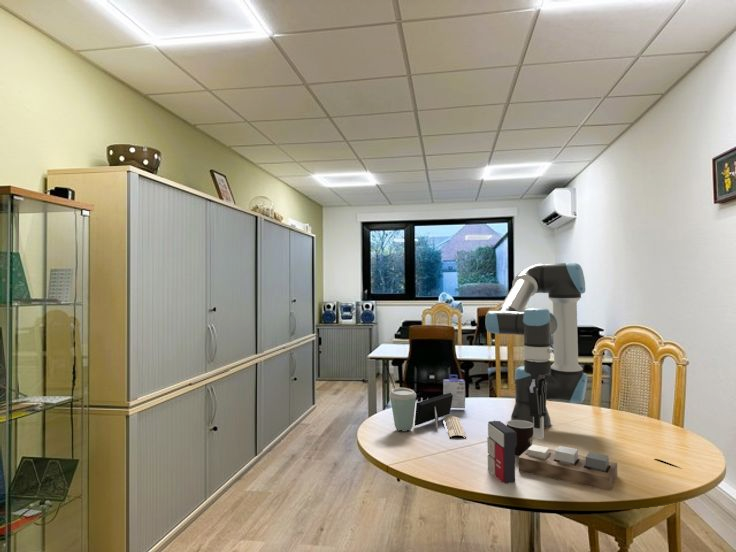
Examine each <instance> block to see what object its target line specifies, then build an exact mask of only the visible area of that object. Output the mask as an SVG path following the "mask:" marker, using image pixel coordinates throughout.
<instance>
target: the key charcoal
mask: <svg viewBox="0 0 736 552" xmlns="http://www.w3.org/2000/svg"><path fill="white" fill-rule="evenodd" d="M585 457H586V466H587V467H589V469H592V470H596V471H601V472H605V473H606V469H607V467H608V466H609V462H610V455H608V454H603V453H602V454H601V453H597V452H591V451H589V452H588V453H587V454H586V456H585Z"/></svg>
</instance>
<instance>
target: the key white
mask: <svg viewBox="0 0 736 552" xmlns="http://www.w3.org/2000/svg"><path fill="white" fill-rule="evenodd" d="M549 449H550V447H546V446H541V445H538V444H532V446H530V447H529V448H528V449H527V455H529V456H533V457H538V458H542V459H547V458H548V457H549V456H550V450H549Z"/></svg>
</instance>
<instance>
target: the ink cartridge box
mask: <svg viewBox="0 0 736 552" xmlns="http://www.w3.org/2000/svg"><path fill="white" fill-rule="evenodd" d="M442 385H443V386H442V387H443V389H442V395H444V394H448V393H451V394H452V395H453V398H452V404H451V409H466V381H465V379H459V376H458V374H449V378H447V379H443V380H442Z"/></svg>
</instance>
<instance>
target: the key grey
mask: <svg viewBox="0 0 736 552" xmlns="http://www.w3.org/2000/svg"><path fill="white" fill-rule="evenodd" d="M555 450H556V451H555V460H559V462H560V463H565V464H569V465H574V466H575V464H574V463H575V462H576V460H577V459H578V455H579V449H577V448H573V447H567V446H563V445H559V446H558V447H557V448H556V449H555Z"/></svg>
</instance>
